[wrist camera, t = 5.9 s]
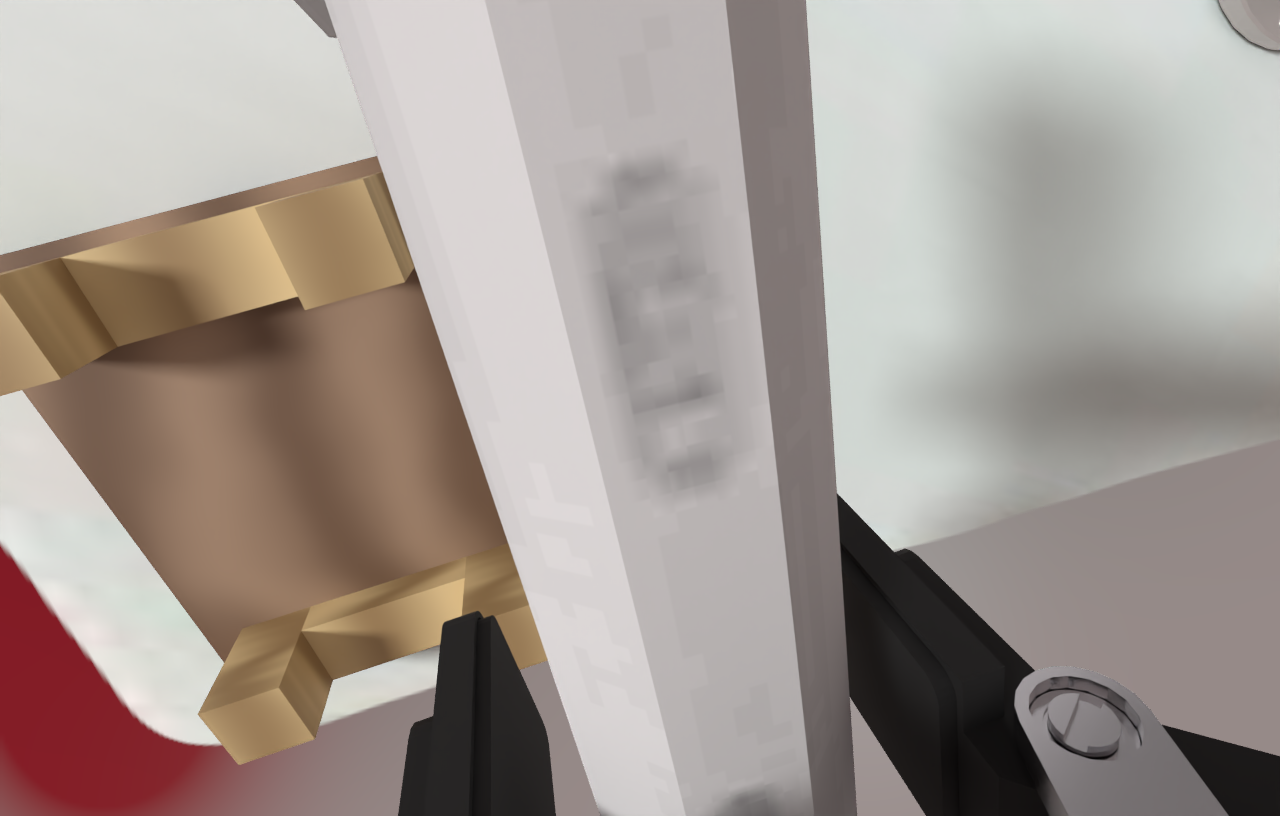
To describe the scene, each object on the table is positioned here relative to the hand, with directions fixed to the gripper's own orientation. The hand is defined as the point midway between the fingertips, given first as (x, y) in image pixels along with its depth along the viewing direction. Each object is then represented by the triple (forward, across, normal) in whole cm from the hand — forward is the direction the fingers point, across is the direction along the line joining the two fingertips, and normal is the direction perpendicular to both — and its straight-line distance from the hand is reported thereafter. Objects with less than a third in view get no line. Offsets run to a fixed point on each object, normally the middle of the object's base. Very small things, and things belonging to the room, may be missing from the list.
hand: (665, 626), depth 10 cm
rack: (+18, +10, +2) cm, 21 cm away
